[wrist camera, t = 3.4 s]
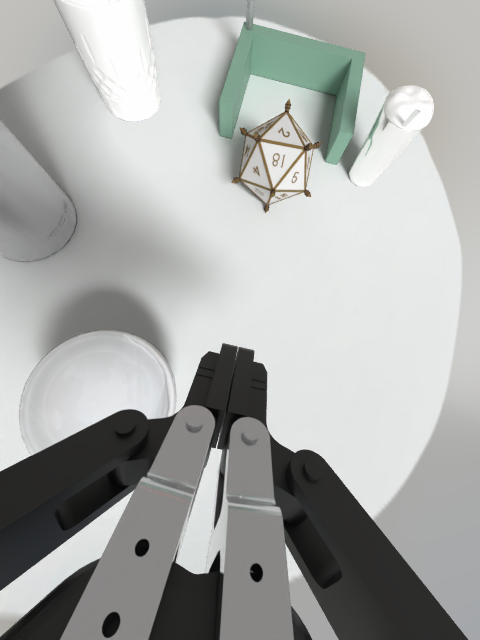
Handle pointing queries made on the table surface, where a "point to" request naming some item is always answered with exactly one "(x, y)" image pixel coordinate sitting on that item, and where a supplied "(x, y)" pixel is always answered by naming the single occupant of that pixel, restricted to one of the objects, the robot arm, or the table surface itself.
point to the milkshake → (392, 132)
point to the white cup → (116, 53)
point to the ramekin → (93, 386)
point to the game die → (276, 159)
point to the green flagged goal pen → (294, 76)
